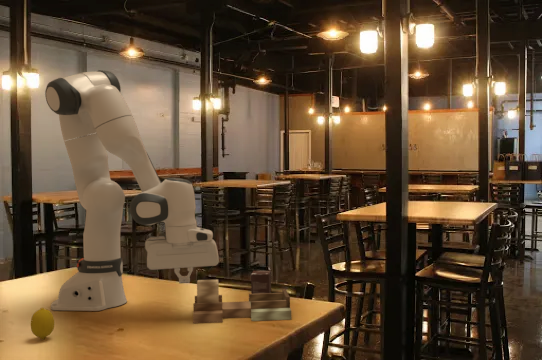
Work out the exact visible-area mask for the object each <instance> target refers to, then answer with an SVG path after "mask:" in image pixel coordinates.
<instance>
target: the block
mask: <svg viewBox="0 0 542 360" xmlns="http://www.w3.org/2000/svg"><path fill="white" fill-rule="evenodd" d="M219 290H220V289H219V279H198V280H197V281H196V296H197V303H216V302H219V295H220V292H219Z"/></svg>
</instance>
